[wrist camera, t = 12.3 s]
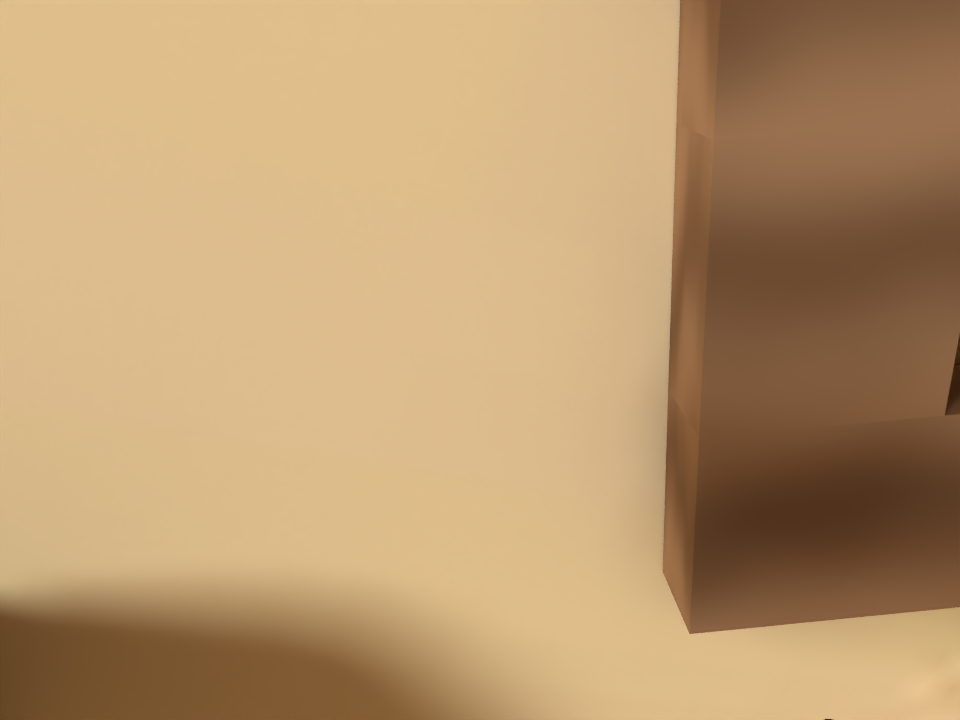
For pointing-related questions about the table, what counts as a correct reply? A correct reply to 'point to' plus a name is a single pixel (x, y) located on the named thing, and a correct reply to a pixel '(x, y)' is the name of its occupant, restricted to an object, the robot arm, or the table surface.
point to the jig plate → (814, 312)
